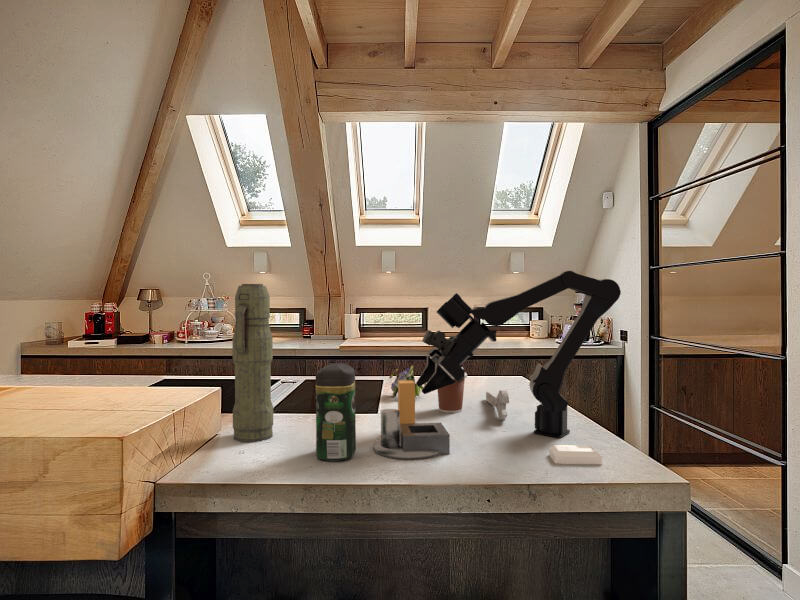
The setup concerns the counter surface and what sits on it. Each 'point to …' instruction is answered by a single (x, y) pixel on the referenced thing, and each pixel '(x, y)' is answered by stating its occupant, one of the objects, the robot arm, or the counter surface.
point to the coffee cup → (451, 397)
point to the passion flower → (404, 375)
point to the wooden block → (406, 401)
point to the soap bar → (574, 454)
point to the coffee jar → (335, 412)
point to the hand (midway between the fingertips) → (420, 388)
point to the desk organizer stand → (410, 438)
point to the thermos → (252, 364)
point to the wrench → (499, 402)
